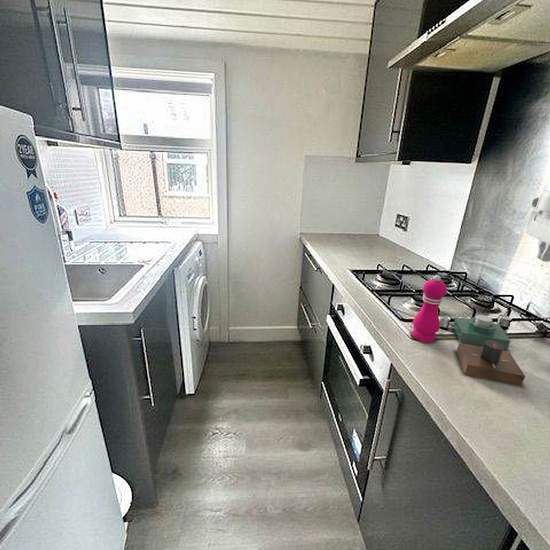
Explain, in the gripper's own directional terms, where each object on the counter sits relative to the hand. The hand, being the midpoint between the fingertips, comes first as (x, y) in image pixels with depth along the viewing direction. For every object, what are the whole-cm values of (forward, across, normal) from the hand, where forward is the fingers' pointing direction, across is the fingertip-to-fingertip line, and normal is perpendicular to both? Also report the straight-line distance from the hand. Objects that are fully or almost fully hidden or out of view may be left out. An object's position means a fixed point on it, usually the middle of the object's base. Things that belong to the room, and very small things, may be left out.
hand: (542, 259), depth 76 cm
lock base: (+27, -12, +9) cm, 31 cm away
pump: (+22, +4, +7) cm, 24 cm away
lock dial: (+24, -12, +9) cm, 28 cm away
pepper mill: (+27, -2, +23) cm, 36 cm away
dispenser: (+27, +4, +7) cm, 28 cm away
